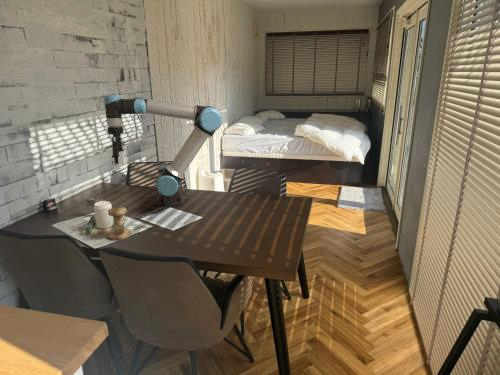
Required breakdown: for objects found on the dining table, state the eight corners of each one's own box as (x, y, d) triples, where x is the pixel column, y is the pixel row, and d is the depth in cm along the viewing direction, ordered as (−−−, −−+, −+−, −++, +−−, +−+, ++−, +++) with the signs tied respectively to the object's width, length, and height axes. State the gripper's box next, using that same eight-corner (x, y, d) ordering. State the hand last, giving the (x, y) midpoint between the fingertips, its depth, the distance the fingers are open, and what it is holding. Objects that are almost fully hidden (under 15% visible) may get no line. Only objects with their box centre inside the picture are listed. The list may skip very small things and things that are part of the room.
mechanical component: (104, 218, 184) (102, 200, 181) (87, 216, 186) (84, 199, 183) (107, 216, 187) (105, 198, 184) (90, 214, 189) (88, 197, 186)
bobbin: (132, 230, 170) (129, 205, 166) (130, 239, 161) (127, 213, 157) (110, 232, 168) (107, 207, 164) (107, 241, 158) (104, 214, 154)
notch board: (124, 220, 182) (123, 212, 180) (120, 232, 167) (120, 224, 166) (91, 222, 178) (90, 215, 177) (85, 236, 163) (84, 227, 162)
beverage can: (103, 230, 166) (100, 207, 162) (93, 227, 170) (89, 204, 167) (117, 225, 173) (114, 202, 169) (107, 221, 177) (104, 199, 173)
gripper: (110, 123, 187) (115, 161, 193) (103, 129, 164) (108, 172, 170) (125, 122, 189) (129, 160, 195) (119, 129, 166) (124, 172, 172)
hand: (119, 166), depth 183 cm, fingers open, 13 cm apart
